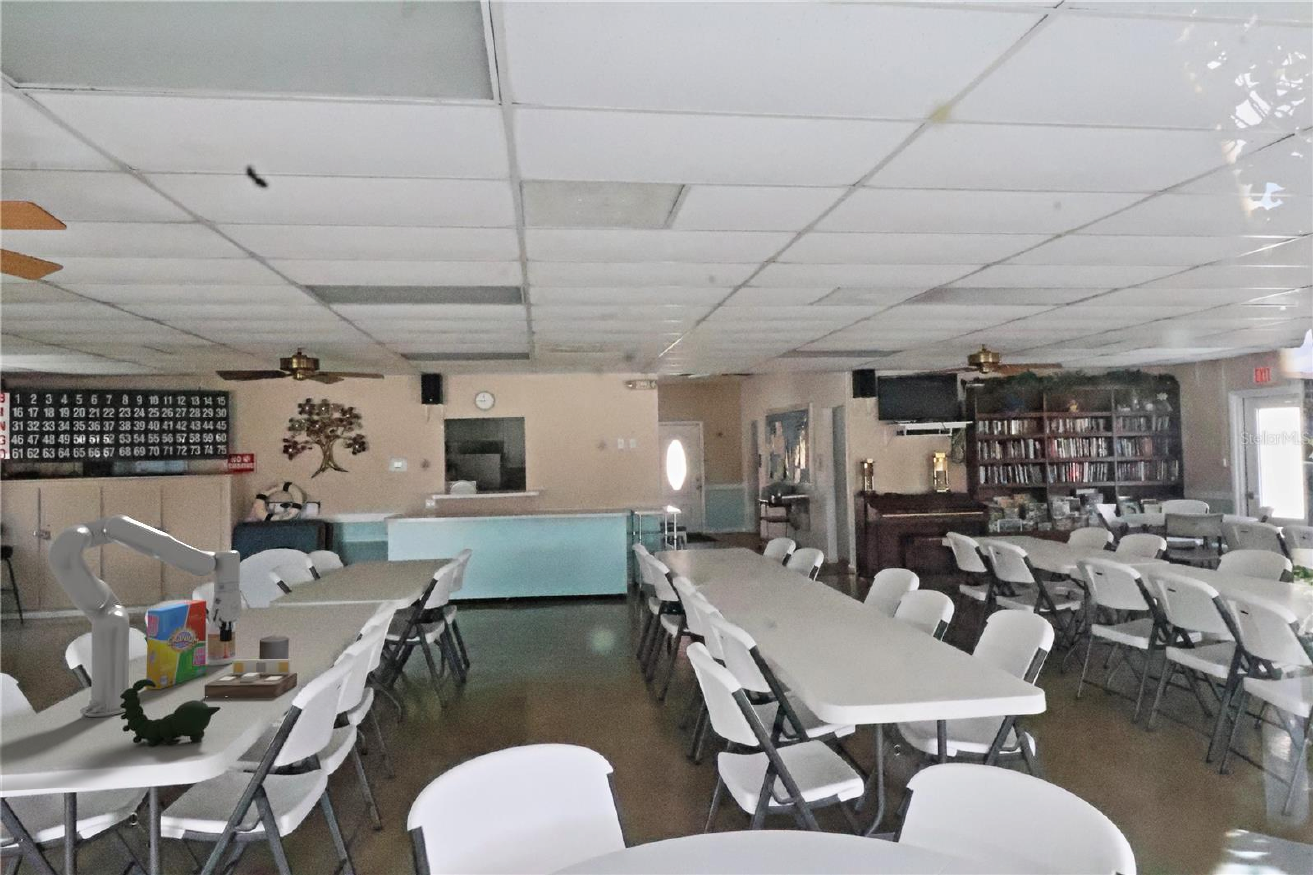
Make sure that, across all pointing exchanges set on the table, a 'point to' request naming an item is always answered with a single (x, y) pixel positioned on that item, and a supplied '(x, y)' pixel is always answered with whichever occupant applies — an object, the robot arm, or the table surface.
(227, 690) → the button board
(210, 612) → the fruit juice
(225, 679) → the left button
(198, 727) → the toy figurine
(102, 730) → the table surface
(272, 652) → the pillar candle
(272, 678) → the right button
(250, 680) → the middle button
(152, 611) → the game box
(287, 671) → the card
